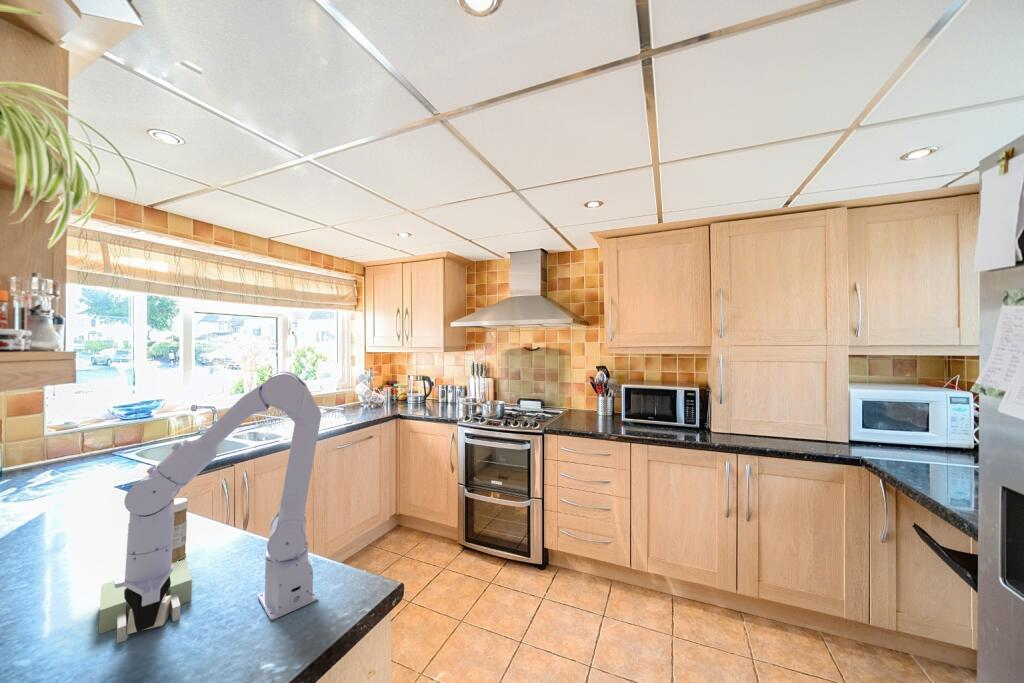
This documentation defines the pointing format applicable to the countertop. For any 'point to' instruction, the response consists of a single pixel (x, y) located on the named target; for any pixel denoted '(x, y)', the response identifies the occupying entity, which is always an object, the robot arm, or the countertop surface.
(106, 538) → the countertop surface
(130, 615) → the cream small block
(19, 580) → the countertop surface
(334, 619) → the countertop surface
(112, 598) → the deck
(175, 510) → the sprinkles bottle
